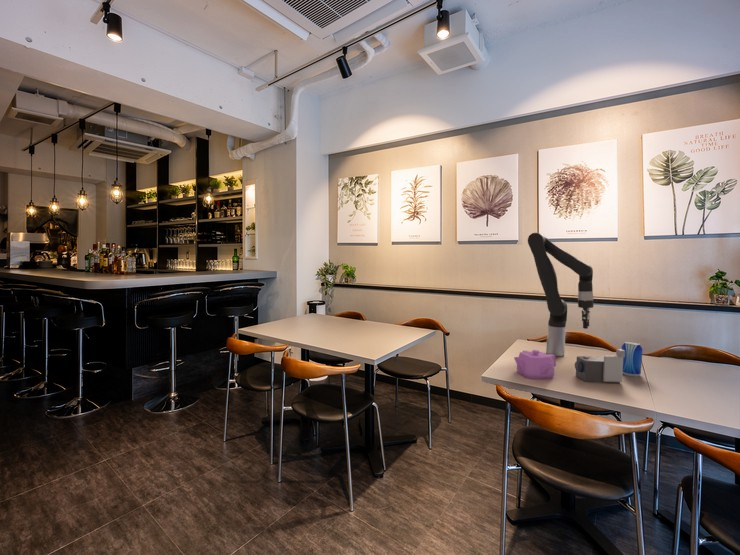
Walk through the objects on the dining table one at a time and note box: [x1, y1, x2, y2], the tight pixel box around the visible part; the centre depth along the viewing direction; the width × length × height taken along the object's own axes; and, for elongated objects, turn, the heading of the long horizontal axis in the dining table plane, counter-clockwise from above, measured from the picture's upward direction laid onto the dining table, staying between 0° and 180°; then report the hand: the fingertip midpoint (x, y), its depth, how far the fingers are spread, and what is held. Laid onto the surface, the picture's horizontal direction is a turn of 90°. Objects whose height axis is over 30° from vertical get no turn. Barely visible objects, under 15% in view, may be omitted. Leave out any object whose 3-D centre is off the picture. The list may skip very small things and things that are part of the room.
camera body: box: [574, 355, 621, 384], centre depth 169 cm, size 18×8×11 cm, turn 86°
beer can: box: [621, 341, 643, 378], centre depth 177 cm, size 8×8×16 cm
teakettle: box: [513, 349, 556, 380], centre depth 175 cm, size 17×17×12 cm
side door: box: [603, 348, 625, 383], centre depth 164 cm, size 8×3×15 cm, turn 86°
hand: (586, 327), depth 201 cm, fingers open, 8 cm apart
